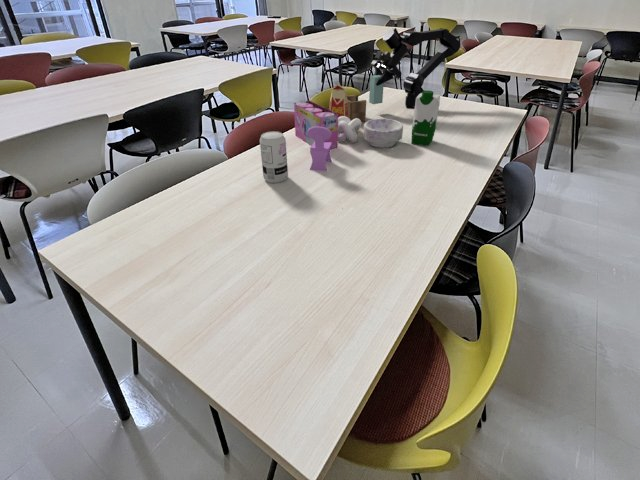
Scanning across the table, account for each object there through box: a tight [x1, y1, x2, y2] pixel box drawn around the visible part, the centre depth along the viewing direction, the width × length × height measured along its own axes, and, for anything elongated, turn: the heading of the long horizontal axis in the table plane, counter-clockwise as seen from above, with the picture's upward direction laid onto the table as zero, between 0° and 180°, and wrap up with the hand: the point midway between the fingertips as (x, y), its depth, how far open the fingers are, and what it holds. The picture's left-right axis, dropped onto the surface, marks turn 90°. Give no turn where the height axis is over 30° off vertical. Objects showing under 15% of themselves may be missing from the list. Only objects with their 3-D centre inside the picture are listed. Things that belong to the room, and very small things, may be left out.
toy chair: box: [308, 126, 333, 172], centre depth 136 cm, size 8×9×15 cm
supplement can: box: [259, 130, 289, 184], centre depth 127 cm, size 8×8×15 cm
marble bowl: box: [363, 118, 404, 149], centre depth 154 cm, size 15×15×8 cm
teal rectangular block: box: [368, 74, 385, 105], centre depth 184 cm, size 5×4×12 cm
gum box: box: [293, 100, 339, 151], centre depth 156 cm, size 24×8×14 cm, turn 30°
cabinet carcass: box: [347, 94, 367, 123], centre depth 180 cm, size 10×11×10 cm
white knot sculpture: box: [338, 116, 362, 143], centre depth 158 cm, size 11×12×9 cm
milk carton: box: [328, 81, 349, 133], centre depth 166 cm, size 9×9×20 cm
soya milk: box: [410, 90, 441, 147], centre depth 151 cm, size 9×9×20 cm
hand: (374, 84), depth 182 cm, fingers closed on teal rectangular block, 4 cm apart
